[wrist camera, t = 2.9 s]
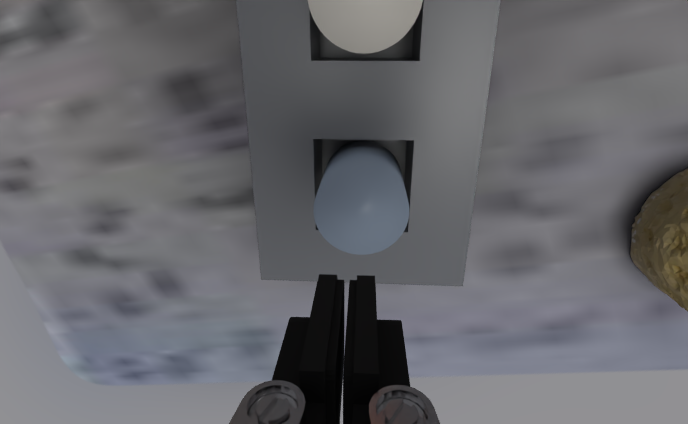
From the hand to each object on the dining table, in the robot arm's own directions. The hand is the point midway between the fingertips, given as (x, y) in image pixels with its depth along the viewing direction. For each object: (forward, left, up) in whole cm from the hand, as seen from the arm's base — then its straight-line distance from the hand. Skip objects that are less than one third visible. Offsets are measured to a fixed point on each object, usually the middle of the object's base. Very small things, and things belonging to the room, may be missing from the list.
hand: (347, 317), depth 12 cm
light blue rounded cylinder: (0, 0, -12) cm, 12 cm away
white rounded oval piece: (-9, 0, -12) cm, 15 cm away
